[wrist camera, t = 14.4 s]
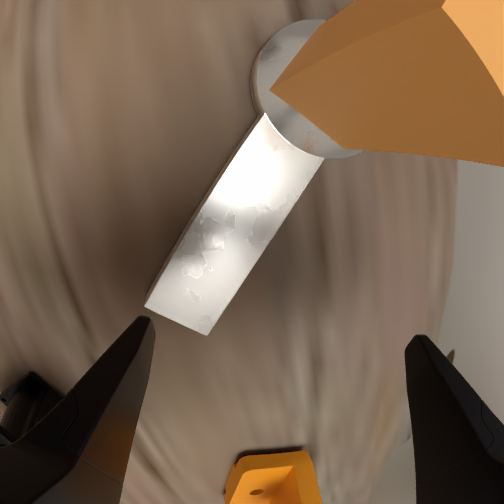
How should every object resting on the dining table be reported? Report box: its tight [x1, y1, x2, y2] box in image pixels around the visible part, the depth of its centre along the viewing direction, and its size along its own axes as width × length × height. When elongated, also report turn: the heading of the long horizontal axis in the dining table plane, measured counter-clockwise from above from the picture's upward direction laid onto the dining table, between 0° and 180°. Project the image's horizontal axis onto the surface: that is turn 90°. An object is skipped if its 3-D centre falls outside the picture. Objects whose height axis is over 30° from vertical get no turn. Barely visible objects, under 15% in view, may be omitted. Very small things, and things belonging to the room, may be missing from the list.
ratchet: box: [144, 19, 365, 336], centre depth 16 cm, size 22×9×5 cm, turn 145°
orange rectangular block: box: [269, 0, 504, 167], centre depth 10 cm, size 6×6×12 cm
